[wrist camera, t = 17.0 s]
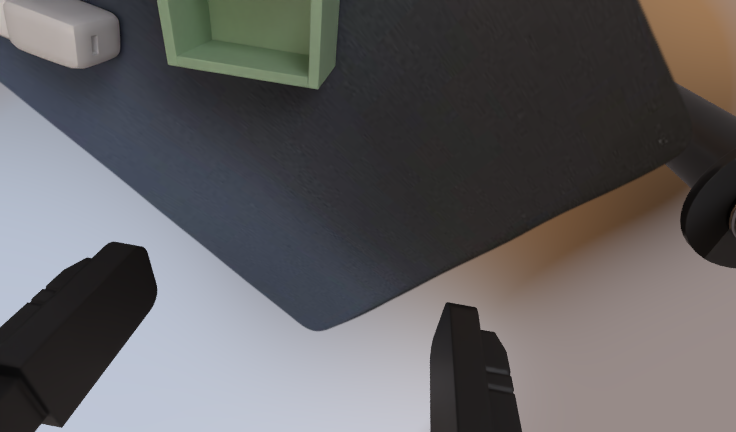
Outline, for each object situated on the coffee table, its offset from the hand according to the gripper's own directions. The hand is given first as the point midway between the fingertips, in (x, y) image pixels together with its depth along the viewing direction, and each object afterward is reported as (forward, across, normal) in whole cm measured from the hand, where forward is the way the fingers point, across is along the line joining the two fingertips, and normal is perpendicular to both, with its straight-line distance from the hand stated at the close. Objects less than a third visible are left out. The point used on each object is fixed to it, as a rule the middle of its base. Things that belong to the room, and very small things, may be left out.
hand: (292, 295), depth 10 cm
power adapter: (+28, +29, +1) cm, 41 cm away
